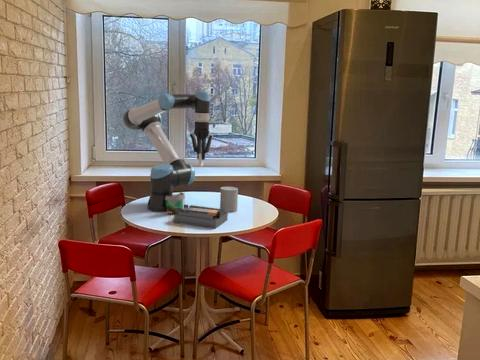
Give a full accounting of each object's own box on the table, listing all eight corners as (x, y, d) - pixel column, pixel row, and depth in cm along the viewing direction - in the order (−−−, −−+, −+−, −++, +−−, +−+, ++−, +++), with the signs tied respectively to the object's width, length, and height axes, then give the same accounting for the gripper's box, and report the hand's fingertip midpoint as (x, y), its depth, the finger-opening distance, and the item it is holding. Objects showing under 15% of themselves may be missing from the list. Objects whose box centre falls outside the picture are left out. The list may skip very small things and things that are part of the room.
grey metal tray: (173, 222, 233) (174, 208, 231) (187, 214, 247) (188, 201, 246) (215, 228, 226) (216, 214, 224) (227, 220, 241) (227, 206, 239)
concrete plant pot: (235, 213, 254) (236, 190, 251) (217, 211, 256) (218, 189, 253) (238, 209, 263) (239, 187, 260) (222, 207, 265) (222, 185, 262)
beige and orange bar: (181, 212, 236) (181, 209, 236) (186, 209, 241) (186, 206, 241) (215, 215, 231) (215, 212, 230) (219, 213, 235) (219, 210, 235)
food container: (174, 216, 243) (174, 197, 241) (165, 214, 246) (165, 195, 244) (189, 211, 253) (189, 193, 251) (180, 210, 256) (180, 191, 254)
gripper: (187, 120, 246) (186, 165, 251) (210, 122, 242) (209, 168, 247) (193, 120, 253) (192, 163, 258) (216, 121, 249) (214, 165, 254)
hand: (200, 165), depth 252 cm, fingers closed
